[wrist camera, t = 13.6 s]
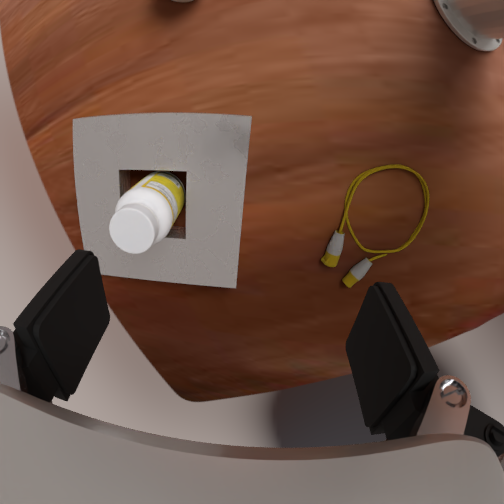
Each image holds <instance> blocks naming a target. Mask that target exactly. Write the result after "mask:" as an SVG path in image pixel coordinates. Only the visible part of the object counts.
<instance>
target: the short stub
mask: <svg viewBox="0 0 504 504" xmlns="http://www.w3.org/2000/svg"><path fill="white" fill-rule="evenodd" d="M172 1H175V2H190V1H193V0H172Z"/></svg>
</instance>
